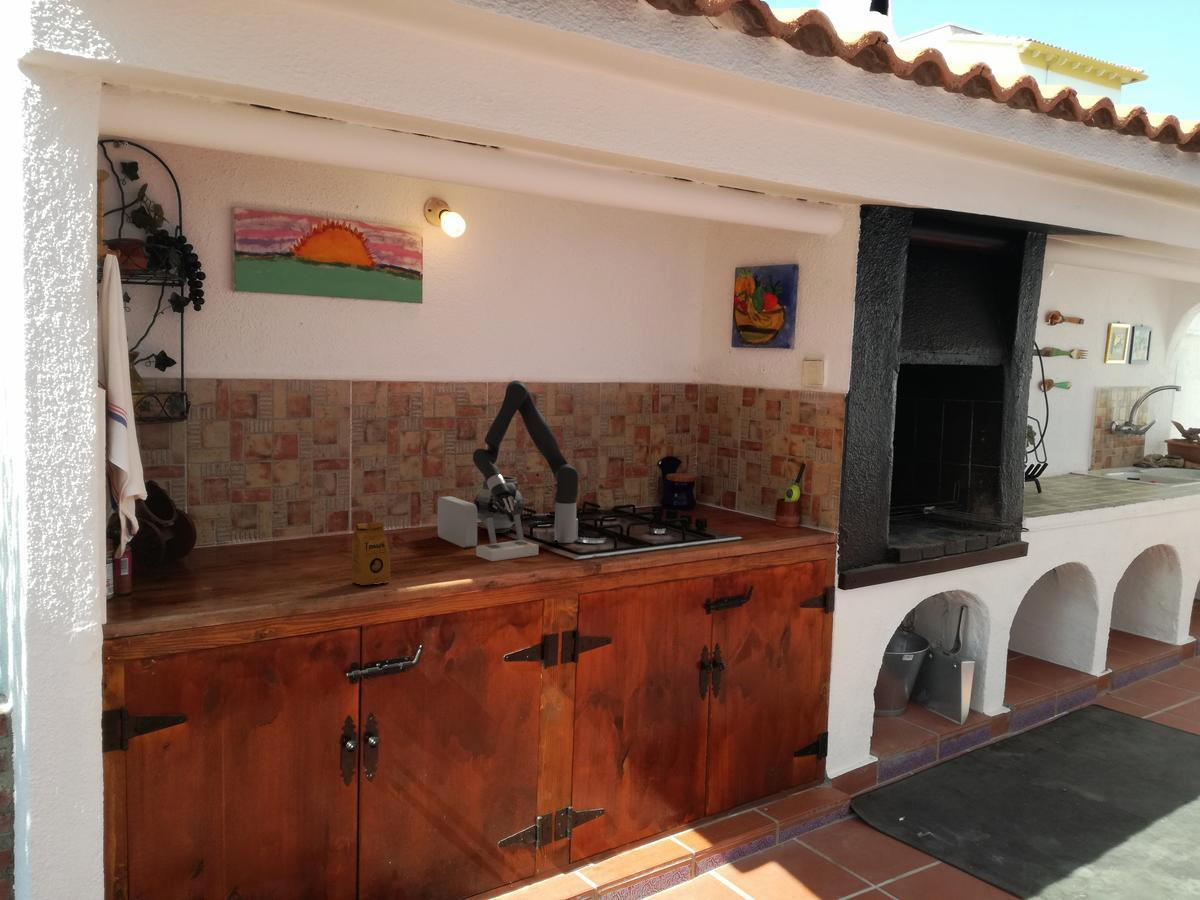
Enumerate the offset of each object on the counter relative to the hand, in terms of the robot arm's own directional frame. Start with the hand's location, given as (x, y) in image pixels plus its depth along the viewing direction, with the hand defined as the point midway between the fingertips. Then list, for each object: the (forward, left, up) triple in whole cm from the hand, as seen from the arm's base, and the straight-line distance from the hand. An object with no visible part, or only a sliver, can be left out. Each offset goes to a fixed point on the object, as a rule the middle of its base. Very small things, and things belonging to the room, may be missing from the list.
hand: (514, 521), depth 396 cm
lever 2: (0, +5, -7) cm, 9 cm away
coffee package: (+71, +18, -13) cm, 75 cm away
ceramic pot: (-18, -40, -13) cm, 45 cm away
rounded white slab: (+10, -29, -13) cm, 33 cm away
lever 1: (+13, +5, -7) cm, 16 cm away
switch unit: (+6, +5, -12) cm, 15 cm away
